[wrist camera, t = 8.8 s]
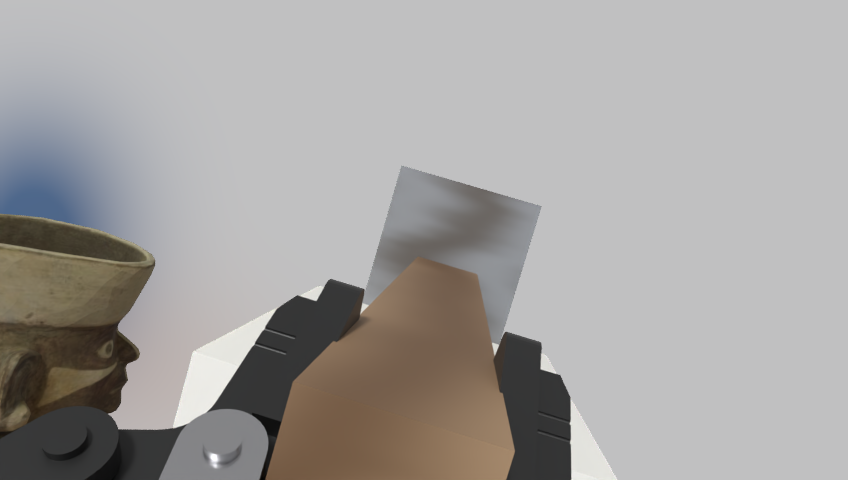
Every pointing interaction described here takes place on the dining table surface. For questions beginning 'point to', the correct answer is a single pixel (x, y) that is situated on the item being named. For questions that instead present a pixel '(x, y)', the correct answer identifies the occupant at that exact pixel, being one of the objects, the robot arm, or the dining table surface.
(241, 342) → the post
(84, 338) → the ceramic vessel
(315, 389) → the wooden handled hammer
